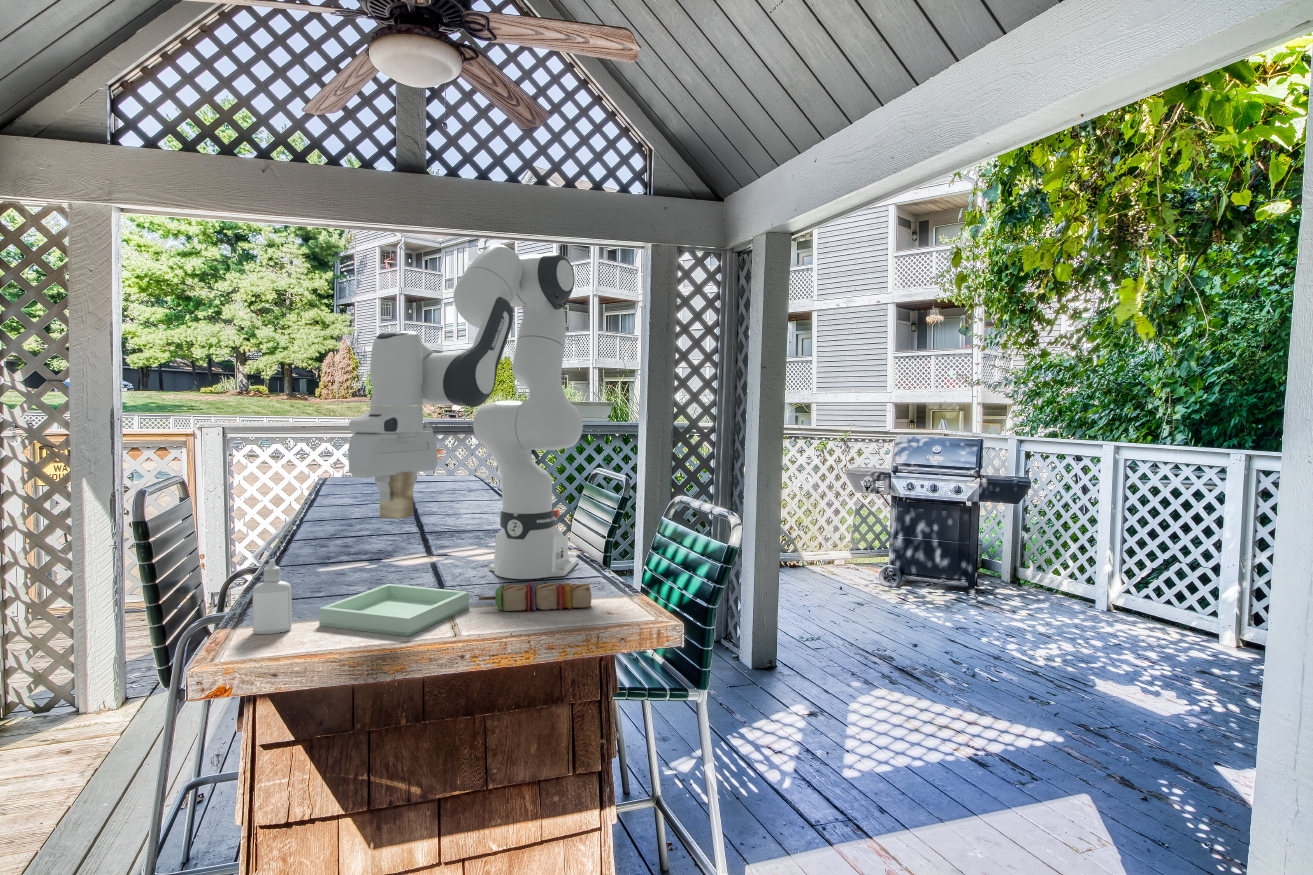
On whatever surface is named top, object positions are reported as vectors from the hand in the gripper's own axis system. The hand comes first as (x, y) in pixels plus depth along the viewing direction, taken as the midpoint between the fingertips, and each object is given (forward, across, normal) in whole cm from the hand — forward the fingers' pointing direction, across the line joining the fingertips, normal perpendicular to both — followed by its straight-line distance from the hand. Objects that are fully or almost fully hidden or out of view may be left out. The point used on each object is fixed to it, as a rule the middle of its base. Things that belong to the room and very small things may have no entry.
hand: (396, 499), depth 128 cm
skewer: (+21, -13, +21) cm, 33 cm away
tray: (+21, 0, 0) cm, 21 cm away
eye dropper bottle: (+21, +14, -14) cm, 29 cm away
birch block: (+3, 0, 0) cm, 3 cm away
